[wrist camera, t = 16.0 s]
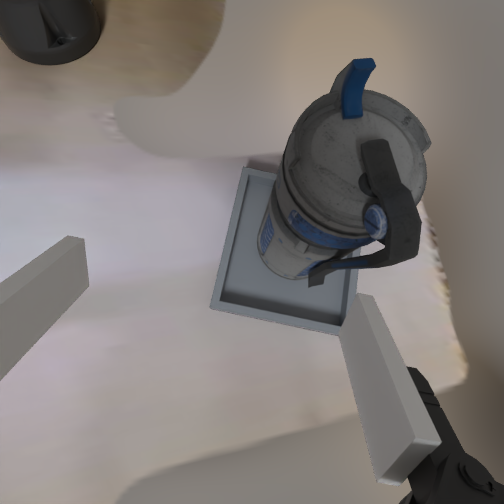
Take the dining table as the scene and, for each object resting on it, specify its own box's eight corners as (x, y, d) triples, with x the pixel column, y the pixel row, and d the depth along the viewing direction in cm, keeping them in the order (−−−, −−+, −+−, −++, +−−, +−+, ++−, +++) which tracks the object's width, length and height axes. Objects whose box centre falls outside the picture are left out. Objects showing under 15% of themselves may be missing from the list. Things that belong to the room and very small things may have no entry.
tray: (242, 177, 44) (243, 166, 41) (357, 203, 44) (366, 194, 41) (210, 308, 38) (209, 307, 36) (342, 336, 39) (351, 337, 36)
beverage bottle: (266, 305, 38) (334, 266, 14) (248, 213, 41) (278, 51, 17) (339, 292, 39) (515, 235, 15) (316, 203, 43) (433, 40, 18)
